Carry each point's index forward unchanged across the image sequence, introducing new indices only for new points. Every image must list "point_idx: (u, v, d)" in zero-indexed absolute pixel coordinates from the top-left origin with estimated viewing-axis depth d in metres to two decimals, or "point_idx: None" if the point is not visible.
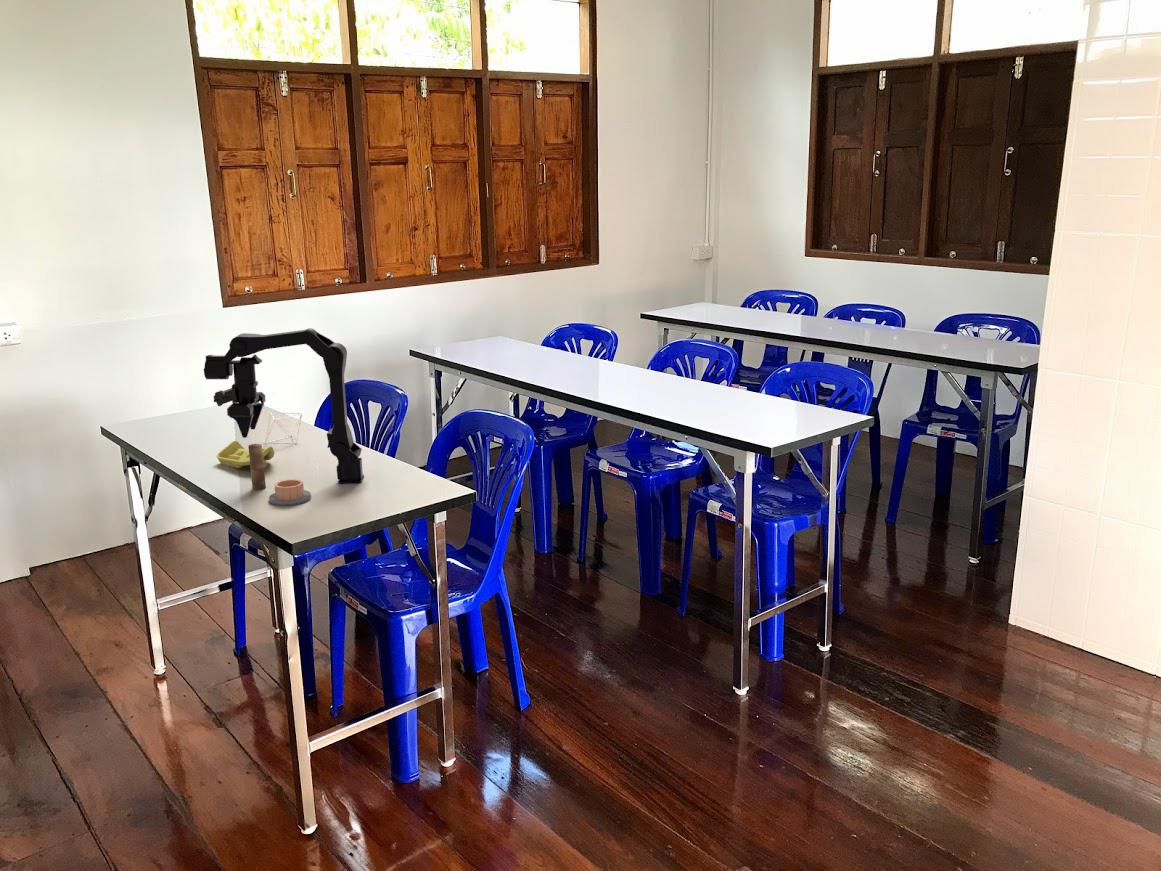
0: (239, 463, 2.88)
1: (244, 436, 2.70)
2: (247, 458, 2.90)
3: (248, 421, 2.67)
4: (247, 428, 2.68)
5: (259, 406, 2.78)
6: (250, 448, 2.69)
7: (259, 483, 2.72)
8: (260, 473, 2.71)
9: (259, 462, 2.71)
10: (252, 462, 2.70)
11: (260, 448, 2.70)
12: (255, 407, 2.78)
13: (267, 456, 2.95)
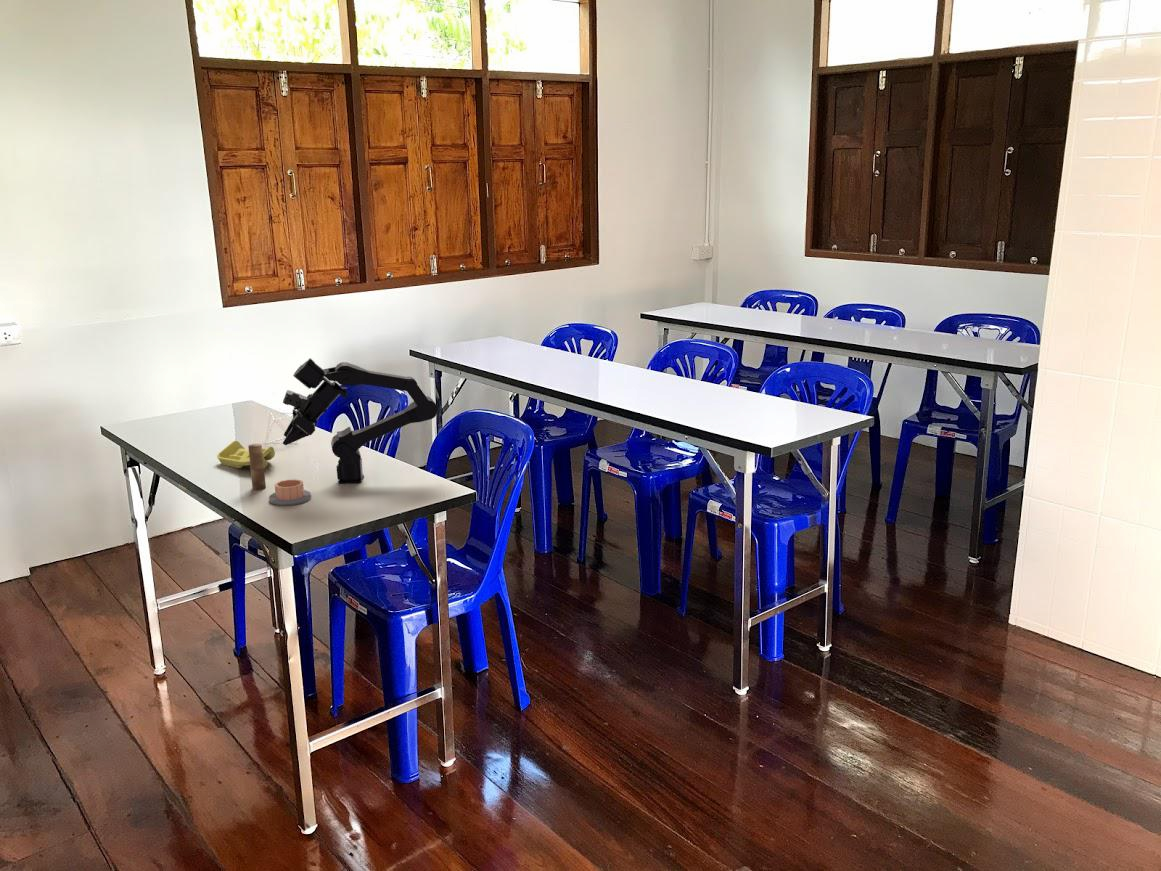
0: (240, 463, 2.88)
1: (285, 443, 2.68)
2: (248, 458, 2.90)
3: (301, 436, 2.67)
4: (294, 440, 2.68)
5: None
6: (250, 448, 2.69)
7: (259, 483, 2.72)
8: (260, 473, 2.71)
9: (259, 463, 2.71)
10: (252, 462, 2.70)
11: (260, 448, 2.70)
12: None
13: (268, 456, 2.95)
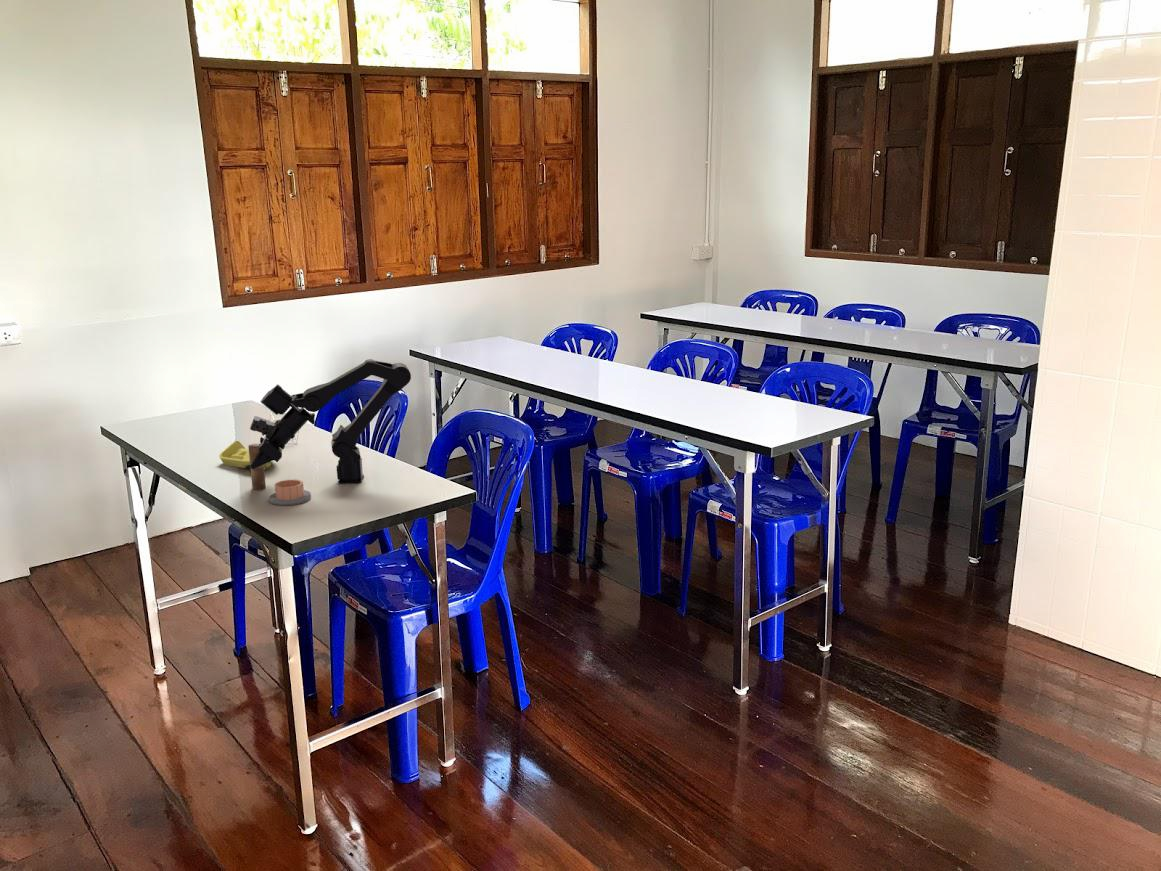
0: (244, 463, 2.89)
1: (252, 466, 2.70)
2: None
3: (268, 460, 2.69)
4: (261, 464, 2.69)
5: None
6: (250, 448, 2.69)
7: (259, 483, 2.72)
8: (260, 473, 2.71)
9: None
10: None
11: None
12: None
13: None
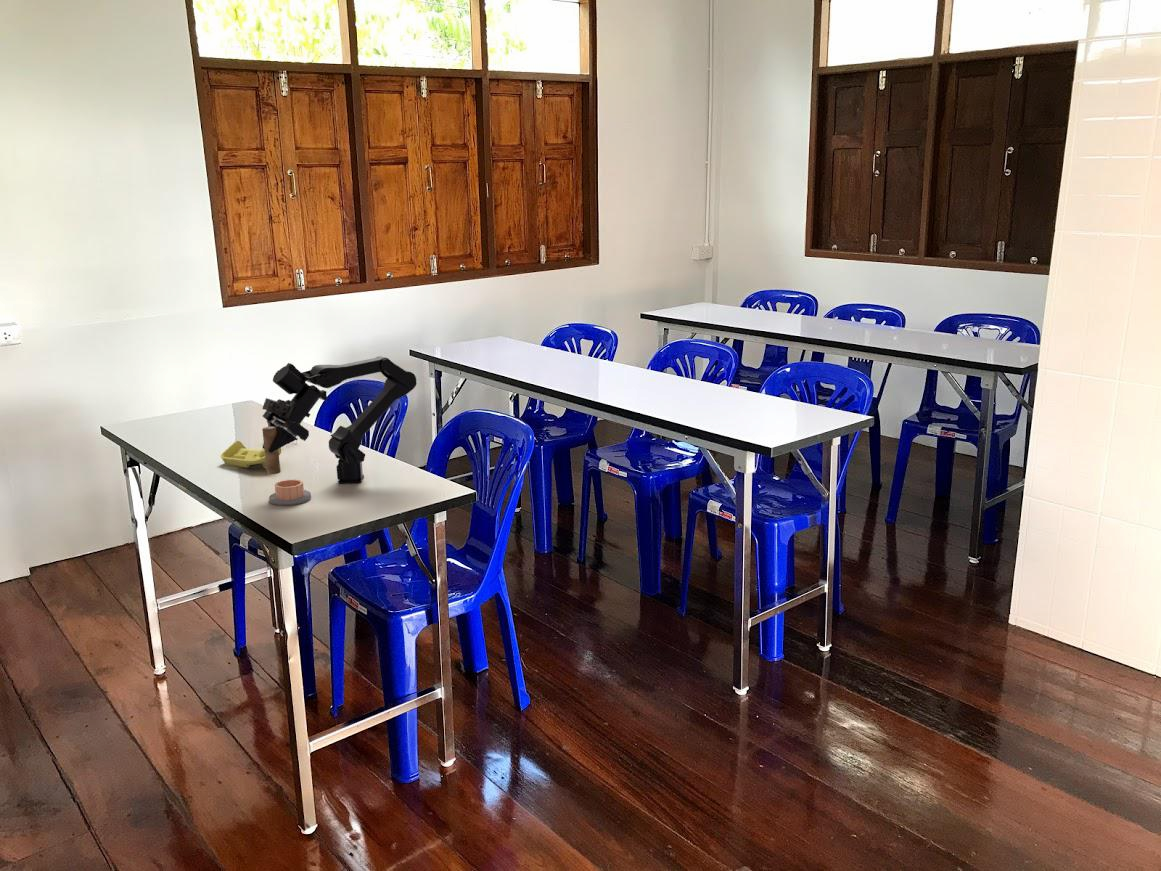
0: (247, 462, 2.89)
1: (270, 450, 2.61)
2: (255, 457, 2.91)
3: (288, 441, 2.62)
4: (280, 446, 2.61)
5: None
6: (267, 431, 2.60)
7: (277, 466, 2.63)
8: (277, 456, 2.63)
9: None
10: (269, 446, 2.61)
11: (276, 430, 2.62)
12: None
13: None
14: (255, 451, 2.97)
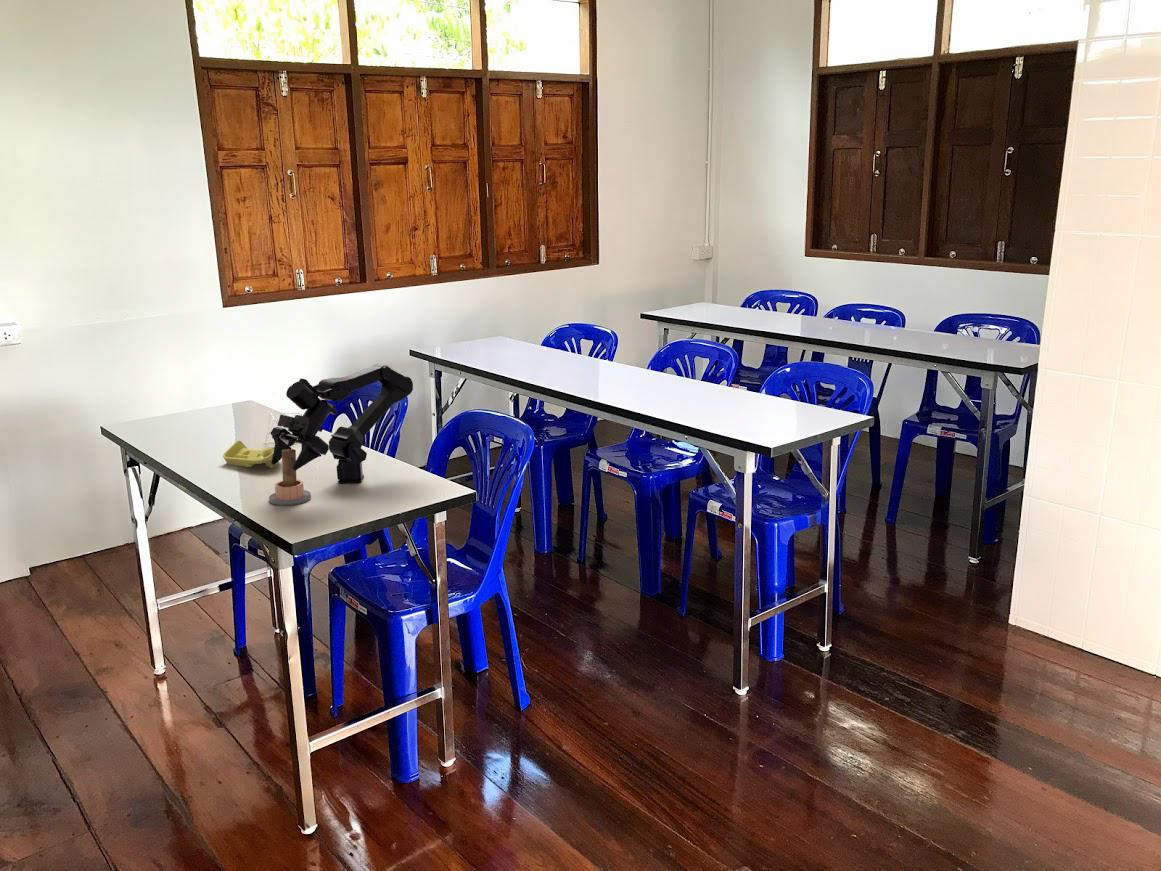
0: (251, 462, 2.90)
1: (295, 468, 2.58)
2: (258, 457, 2.92)
3: (311, 458, 2.60)
4: (304, 463, 2.59)
5: (289, 447, 2.67)
6: (288, 453, 2.60)
7: None
8: (295, 479, 2.63)
9: None
10: (289, 468, 2.61)
11: (295, 452, 2.62)
12: (286, 446, 2.67)
13: None
14: (257, 451, 2.98)
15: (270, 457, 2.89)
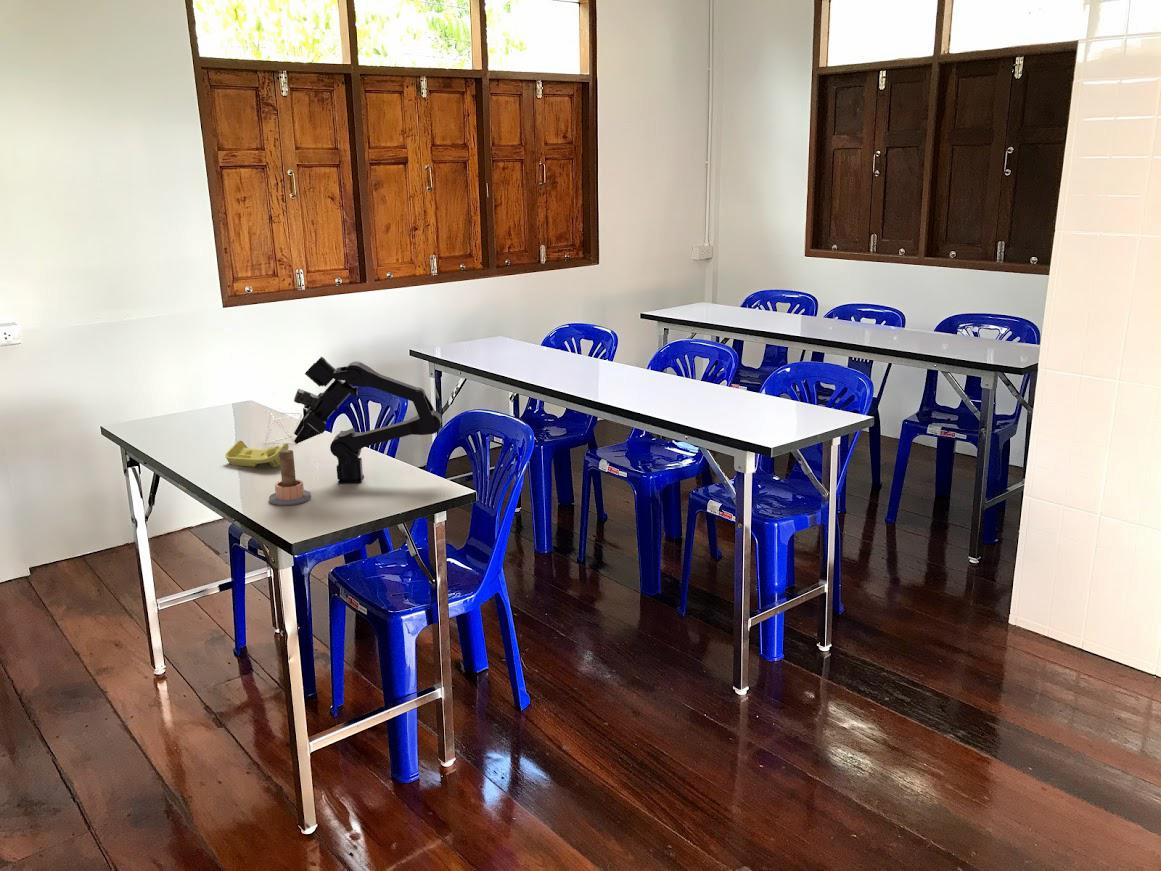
0: (256, 461, 2.90)
1: (296, 441, 2.69)
2: (262, 456, 2.92)
3: (312, 434, 2.68)
4: (305, 438, 2.69)
5: None
6: (285, 455, 2.59)
7: None
8: (294, 479, 2.62)
9: (293, 468, 2.62)
10: (287, 469, 2.60)
11: None
12: None
13: None
14: (260, 450, 2.98)
15: (275, 456, 2.89)
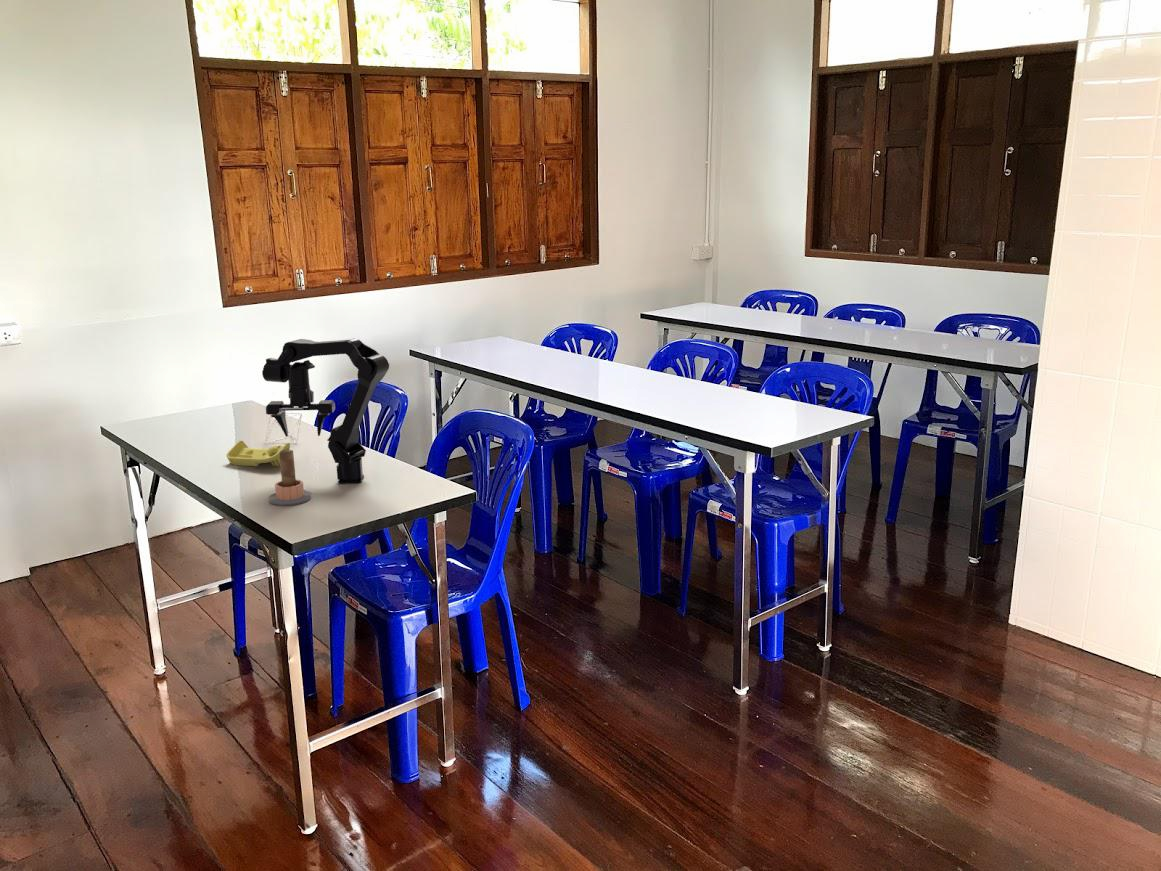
0: (258, 461, 2.90)
1: None
2: (264, 456, 2.93)
3: None
4: None
5: (317, 415, 2.79)
6: (285, 455, 2.59)
7: None
8: (294, 479, 2.62)
9: (293, 468, 2.62)
10: (287, 469, 2.60)
11: None
12: None
13: None
14: (261, 450, 2.99)
15: (277, 456, 2.90)
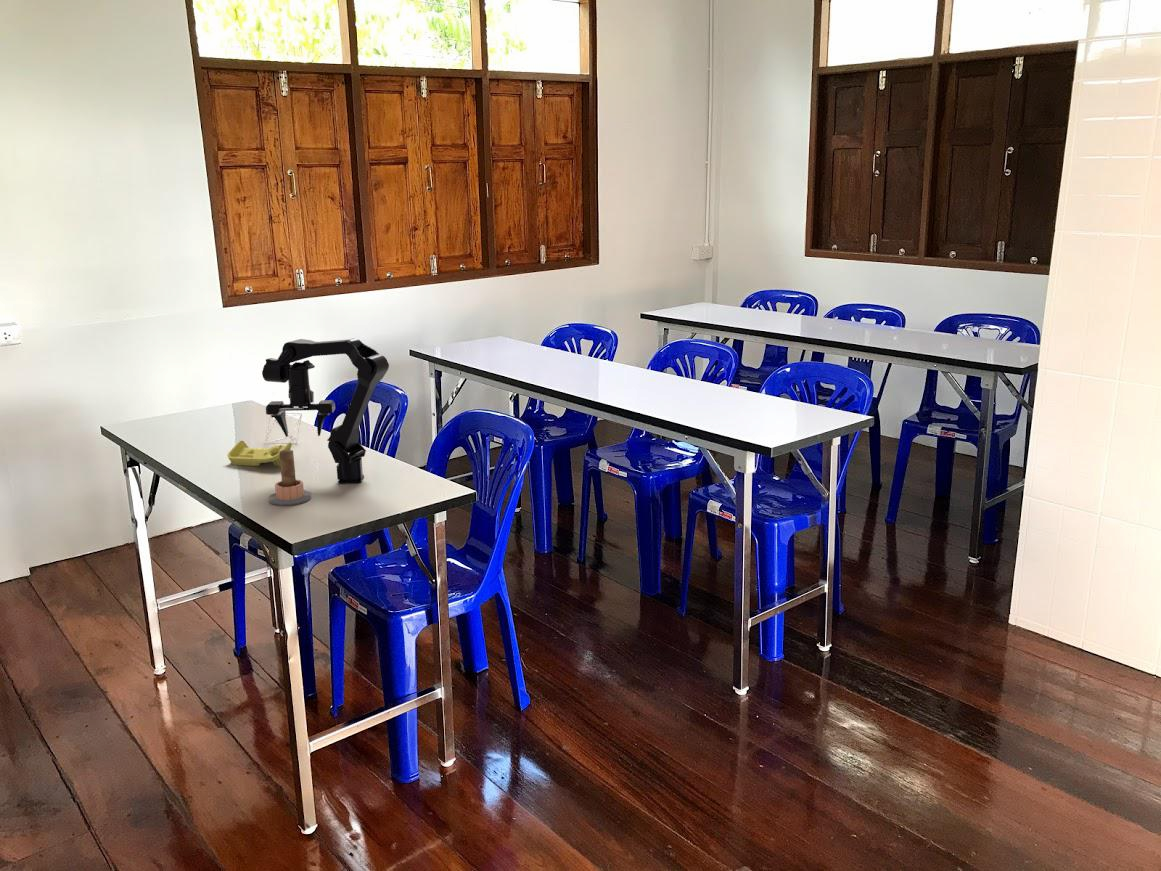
0: (260, 461, 2.91)
1: None
2: (266, 455, 2.93)
3: None
4: None
5: (317, 415, 2.79)
6: (285, 455, 2.59)
7: None
8: (294, 479, 2.62)
9: (293, 468, 2.62)
10: (287, 469, 2.60)
11: None
12: None
13: None
14: (262, 450, 2.99)
15: (279, 455, 2.90)
